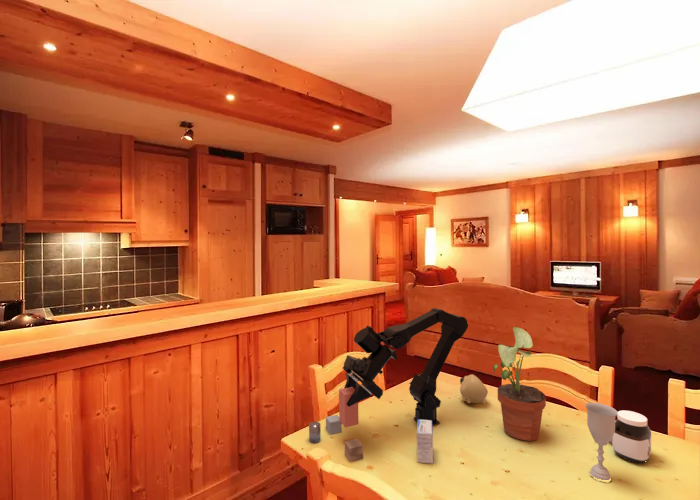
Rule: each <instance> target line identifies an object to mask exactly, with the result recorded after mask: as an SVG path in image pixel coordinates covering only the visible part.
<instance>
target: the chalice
mask: <svg viewBox="0 0 700 500" xmlns="http://www.w3.org/2000/svg"><path fill="white" fill-rule="evenodd" d="M584 406H585V408H586V412H587V416H586V417H587V419H586V424H587V427H588V430H589V432H590V433H589V434H590V435H591V437H592V439H593V441H594V442H595V444H597V445H598V448H597V450H596V452H597V454H598V455H597V456H596V459H597V461H598V462H597V464H594V465H592V466H591V468H590V471H589V472H590V474H591V475H592V476H593V477H595V478H597V479H601V480H609V479H610V478H612V477H611V474H610V471H609V470H608V468H607V467H605V466H604V465H603V462H604V461H605V458H604V454H605V451H604V446H608V444H609V443H610V440H611V439H612V437H613V435H614V433H615V422H616V417H617V414H618V411H617V410H616V409H615V408H613V407H612V406H610V405H608V404H604V403H600V402H587V403H585V404H584Z"/></svg>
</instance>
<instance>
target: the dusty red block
mask: <svg viewBox="0 0 700 500" xmlns="http://www.w3.org/2000/svg"><path fill="white" fill-rule="evenodd" d="M354 391H355V389H354V388H353V387H349V388H344V387H343V388H339V389H338V407H339V408H338V412H339V414H338V415H339V421H340V422H341V423H342V425H343V427H344V428H349V427H353V426H357V425H359V422H360V421H359V402H357V403H355V404H353V405H352V406H350V407H348V406H347V402H348V400H349V399H350V397H351V396H352V394H353V393H354Z"/></svg>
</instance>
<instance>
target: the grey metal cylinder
mask: <svg viewBox="0 0 700 500" xmlns="http://www.w3.org/2000/svg"><path fill="white" fill-rule="evenodd" d="M321 431H322V430H321V422H319V421H312V422H310V423H309V424H308V442H309V443H311V444H318V443H320V442H321V441H322V439H321V438H322V437H321V436H322V435H321V434H322V433H321Z"/></svg>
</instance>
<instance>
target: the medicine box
mask: <svg viewBox="0 0 700 500" xmlns="http://www.w3.org/2000/svg"><path fill="white" fill-rule="evenodd" d="M416 423H417V424H416V425H417V427H416V428H417V429H416V457H417V459H416V461H417V462H416V463H421V464H423V463H424V464H434V438H433V437H434V436H433V435H434V434H433V429H434V428H433V425H432V421H431V420H418V422H417V421H416Z"/></svg>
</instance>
